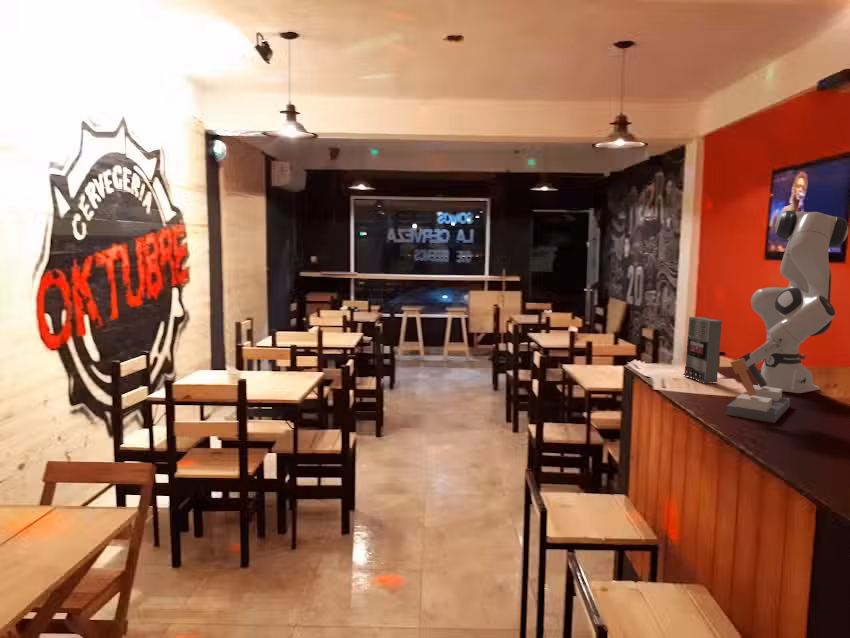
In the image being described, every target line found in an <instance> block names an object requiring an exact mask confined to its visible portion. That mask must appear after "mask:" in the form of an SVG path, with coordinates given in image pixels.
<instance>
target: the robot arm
mask: <svg viewBox="0 0 850 638" xmlns="http://www.w3.org/2000/svg"><path fill="white" fill-rule="evenodd" d="M774 227H775V228H774V229H775V232H776V233H775V234H776V236H777V237H778V238H779V239H781V240H783V241H787V240H788V242H787V244H786V247H785V250H784V254H783V256H782V260H781V263H780V265H779V272H780V274H781V276H782V277H783V278H784V279H786V280H787V281H789V283H788V285H787V287H775V286H774V287H773V286H772V287H764V288H759V289H756V291H755V292H754V293H753V294H752V296H751V299H750V304H751V308H752V310H753V311H754V313H756V314H757V315H758V316H759V317H760V318H761V320H762V321H763V324H764V325H765V330H766V331H765V332H766V341H765V342H764V343H763V344H762V345H761V346H759V347H758V348H756V349H755V350H753V352H751V354H750V359H749V360H747V361H746V362H745V363H744V365H745V366H746V367H749V366H751V365H752V364H754V363H755V365H758V364H760V363H762V362H763V361H764V362H763V363H762V365H761V368H760V369H761V370H760V373H761V375H762V377H763V378H764V380H765V381H766V383H767V385H766V386H765V387H772V388H779V389H782V392H788V393H793V394H794V393H795V394H802V393H808V392H814V391H818V390H820V386H818V385H816V384H814V375H813V373H812V372H811V371H810V370H809V369H808V368H807V367H806V366H805V365H803V364H802V360H806V359H807V354H805V353H799V350H800V345H801V344H803V342H805V340H806V339H808V337H817V336H821V335H822V334H824V333H826V332H827V331H828V330H829V329H830V327H831V324H832V322H833V319H834V317H835V316H836V310H835V307H834V306H833V304H832V303H831V288H832V272H831V268H830V261H829V260H830V259H829V248H835V247H839V246H841V245H843V242H844V241H846V239H847V237H848V235H849V224H848V221H847V219H845V218H843V217H840V216H832V215H830V214H826V213H825V214H824V213H822V212H819V211H795V210H785V211H783V212H782V213H781V215H780V216H779V217H778V218H777V220H776V222H775V226H774ZM756 382H757V381H756ZM757 385H758V386H760V385H759V384H758V382H757Z"/></svg>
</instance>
